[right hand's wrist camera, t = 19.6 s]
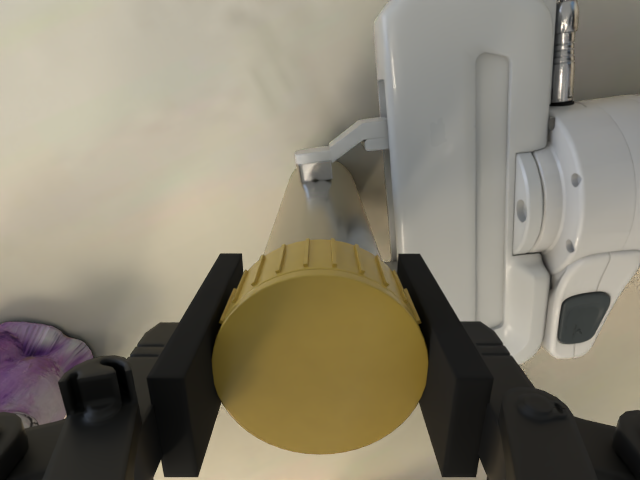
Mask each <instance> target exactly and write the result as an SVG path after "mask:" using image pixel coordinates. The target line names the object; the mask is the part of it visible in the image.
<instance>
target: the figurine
mask: <svg viewBox="0 0 640 480" xmlns="http://www.w3.org/2000/svg"><path fill="white" fill-rule="evenodd" d="M89 359H93V356H92V353H91V350H90V349H89V347H88V346H87V345H86V344H85V343H84V342H83V341H81V340H78V339H74V338H69V337H67V336H65V335H64V334H63V333H62V332H61V331H60V330H59V329H57V328H55V327H53V326H48V325H45V324H37V323H29V322H4V323H2V324H0V412H9V413H15V414H16V415H18V416H19V417H20V418H21V419H22V422H23V425H24V428H29V427H33V426H38V425H42V424H46V423H51V422H55V421H59V420H62V419H64V417H65V415H66V410H65V407H64V403H63V399H62V396H61V392H60V389H59V385H58V381H59V380H60V379H61V377H62V376H63V375H64V373H66V372H67V371H68V370H70V369H71V368H73V367H74V366H75V365H78V364H80V363H82V362H84V361H86V360H89Z"/></svg>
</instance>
